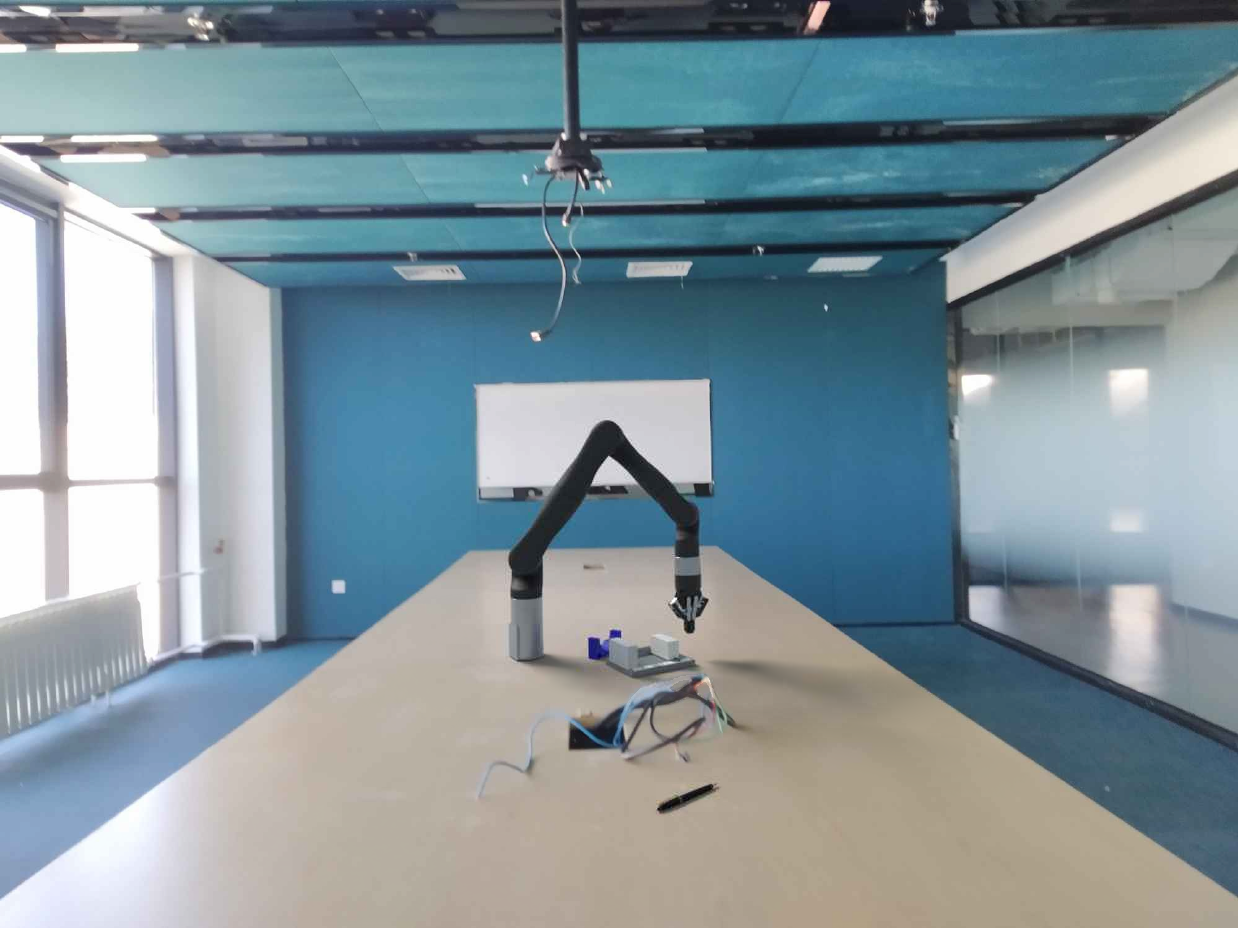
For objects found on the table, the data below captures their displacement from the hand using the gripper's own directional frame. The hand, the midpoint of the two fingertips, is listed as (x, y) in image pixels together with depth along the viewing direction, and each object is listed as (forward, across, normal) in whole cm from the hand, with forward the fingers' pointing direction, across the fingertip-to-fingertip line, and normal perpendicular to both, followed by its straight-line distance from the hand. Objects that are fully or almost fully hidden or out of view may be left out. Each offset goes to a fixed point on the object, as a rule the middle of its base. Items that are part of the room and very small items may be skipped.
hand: (689, 632), depth 201 cm
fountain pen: (+7, +48, +68) cm, 84 cm away
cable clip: (+7, +19, -17) cm, 26 cm away
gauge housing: (+7, +13, 0) cm, 15 cm away
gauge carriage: (+5, +8, +1) cm, 10 cm away
